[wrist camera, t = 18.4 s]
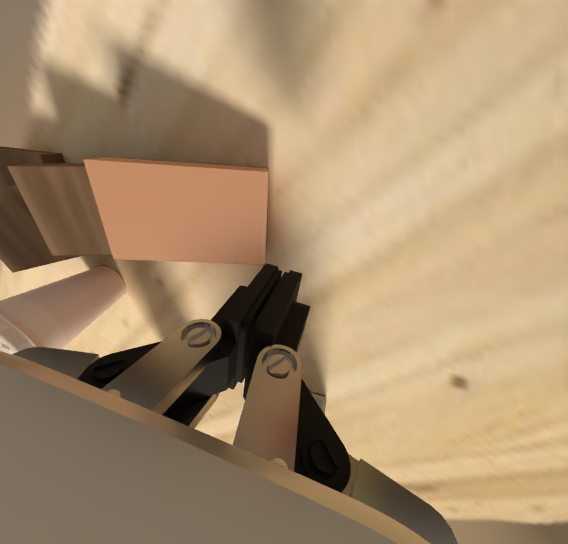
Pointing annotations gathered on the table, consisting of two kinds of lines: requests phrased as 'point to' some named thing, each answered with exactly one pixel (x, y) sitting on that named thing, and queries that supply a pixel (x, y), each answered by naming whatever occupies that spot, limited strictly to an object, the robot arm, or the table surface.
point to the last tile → (22, 161)
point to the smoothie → (57, 310)
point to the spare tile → (181, 210)
